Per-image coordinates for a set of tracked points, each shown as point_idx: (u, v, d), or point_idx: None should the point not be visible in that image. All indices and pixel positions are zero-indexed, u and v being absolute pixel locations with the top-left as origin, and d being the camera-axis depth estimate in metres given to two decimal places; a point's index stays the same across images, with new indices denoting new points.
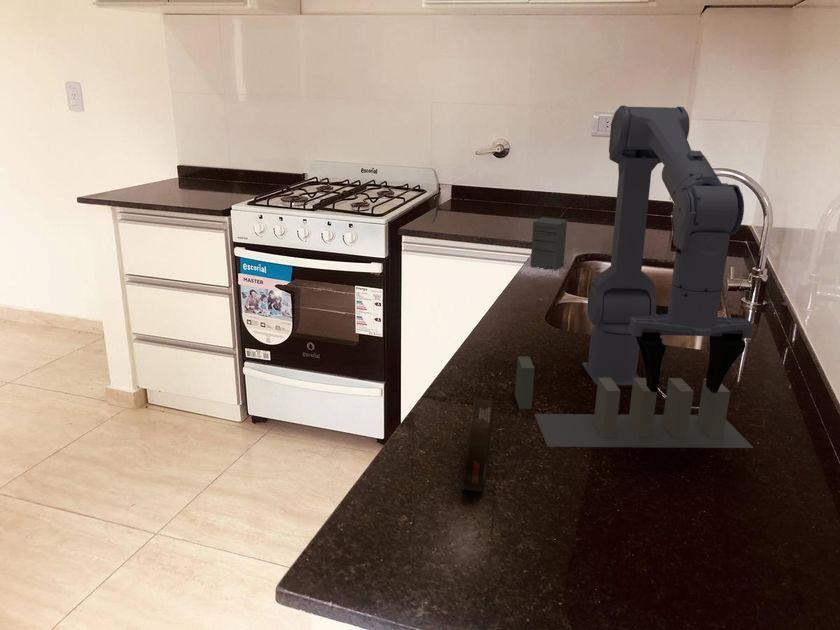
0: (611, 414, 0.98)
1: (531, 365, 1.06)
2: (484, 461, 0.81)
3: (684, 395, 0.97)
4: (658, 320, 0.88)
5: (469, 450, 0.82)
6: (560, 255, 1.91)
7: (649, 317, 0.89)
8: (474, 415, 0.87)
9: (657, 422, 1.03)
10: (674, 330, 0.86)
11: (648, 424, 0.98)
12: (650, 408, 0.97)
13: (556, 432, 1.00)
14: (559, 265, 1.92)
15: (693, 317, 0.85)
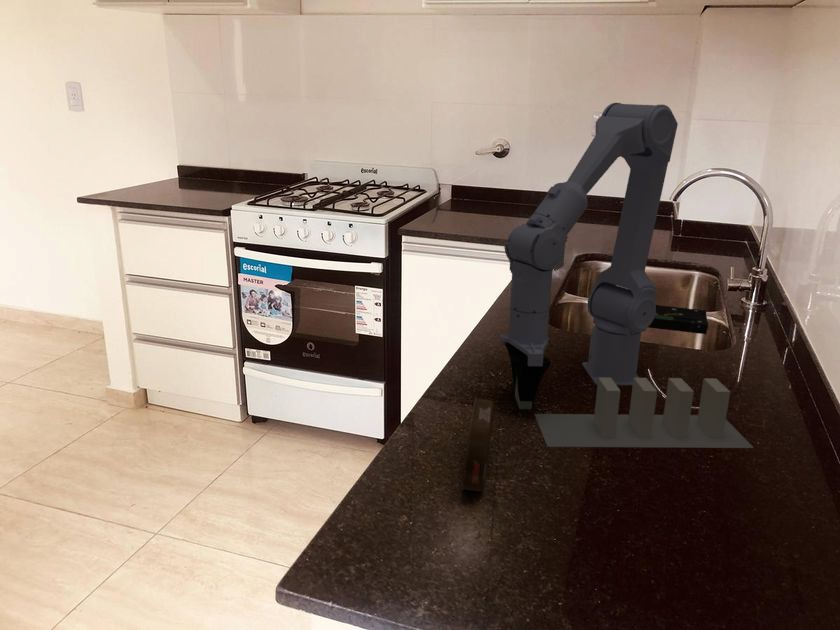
0: (611, 414, 0.98)
1: None
2: (484, 461, 0.81)
3: (684, 395, 0.97)
4: None
5: (469, 450, 0.82)
6: None
7: None
8: (474, 415, 0.87)
9: (657, 422, 1.03)
10: None
11: (648, 424, 0.98)
12: (650, 408, 0.97)
13: (556, 432, 1.00)
14: (559, 265, 1.92)
15: None
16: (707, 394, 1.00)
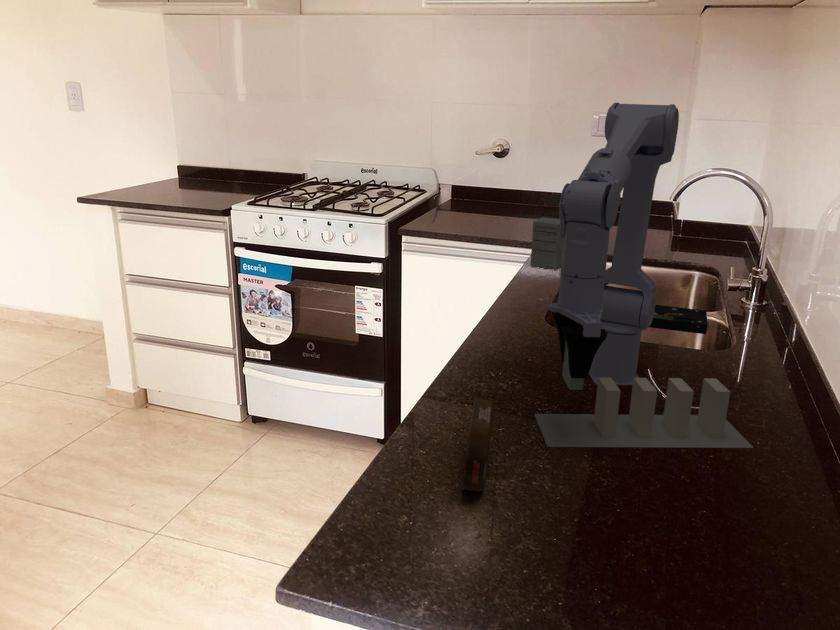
0: (611, 414, 0.98)
1: None
2: (484, 461, 0.81)
3: (684, 395, 0.97)
4: None
5: (469, 450, 0.82)
6: (560, 255, 1.91)
7: None
8: (474, 415, 0.87)
9: (657, 422, 1.03)
10: None
11: (648, 424, 0.98)
12: (650, 408, 0.97)
13: (556, 432, 1.00)
14: (559, 265, 1.92)
15: None
16: (707, 394, 1.00)
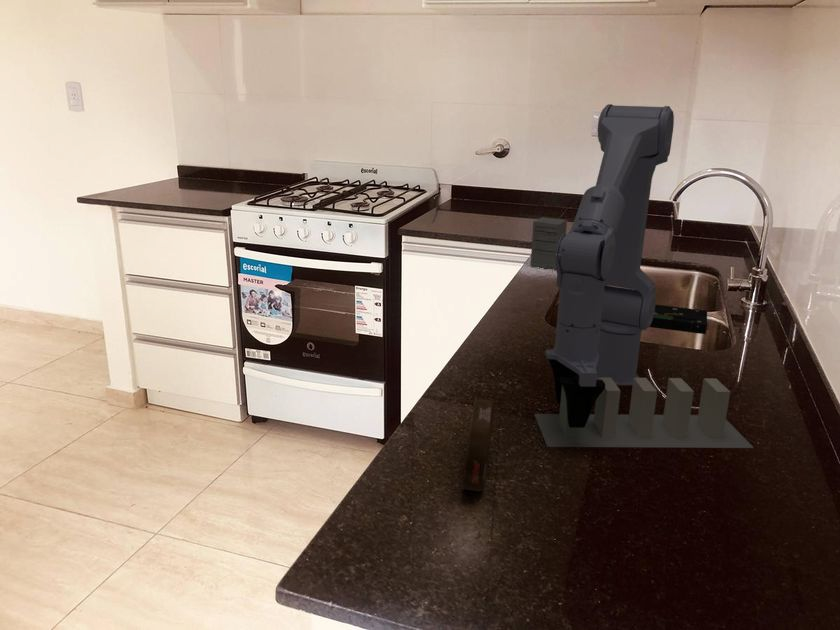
0: (611, 414, 0.98)
1: None
2: (484, 461, 0.81)
3: (684, 395, 0.97)
4: None
5: (469, 450, 0.82)
6: None
7: None
8: (474, 415, 0.87)
9: (657, 422, 1.03)
10: None
11: (648, 424, 0.98)
12: (650, 408, 0.97)
13: (556, 432, 1.00)
14: None
15: (555, 341, 0.98)
16: (707, 394, 1.00)
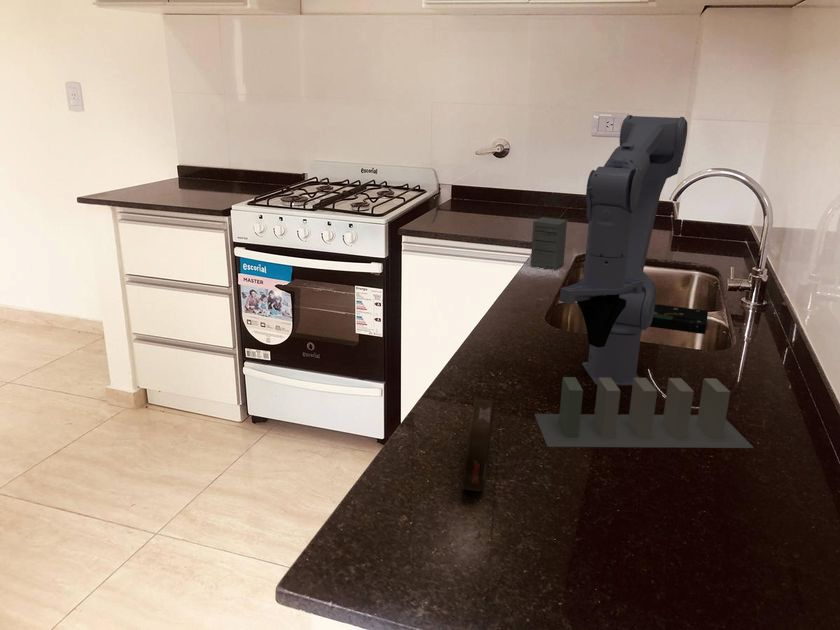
0: (611, 414, 0.98)
1: (579, 387, 0.97)
2: (484, 461, 0.81)
3: (684, 395, 0.97)
4: None
5: (469, 450, 0.82)
6: (560, 255, 1.91)
7: (632, 283, 1.04)
8: (474, 415, 0.87)
9: (657, 422, 1.03)
10: None
11: (648, 424, 0.98)
12: (650, 408, 0.97)
13: (556, 432, 1.00)
14: (559, 265, 1.92)
15: None
16: (707, 394, 1.00)
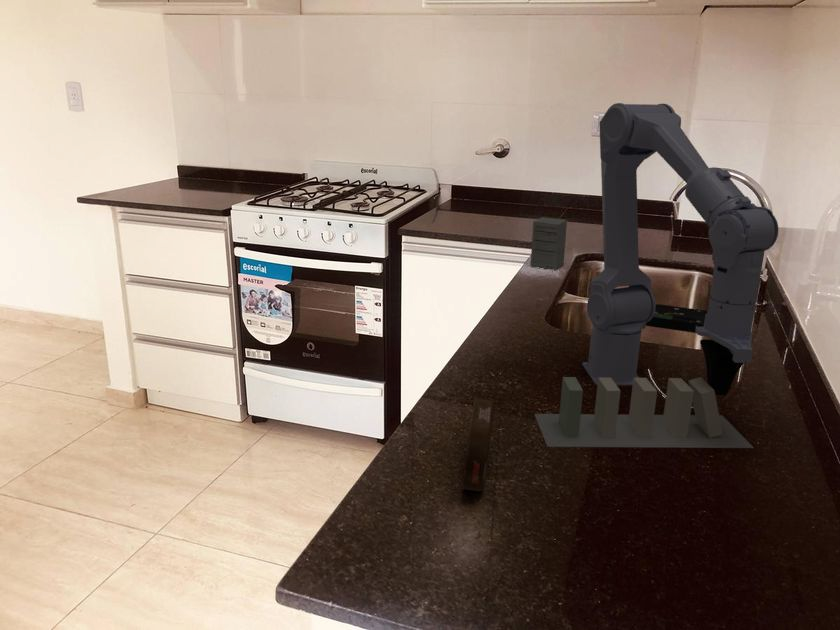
0: (611, 414, 0.98)
1: (579, 387, 0.97)
2: (484, 461, 0.81)
3: (684, 395, 0.97)
4: None
5: (469, 450, 0.82)
6: (560, 255, 1.91)
7: None
8: (474, 415, 0.87)
9: (657, 422, 1.03)
10: None
11: (648, 424, 0.98)
12: (650, 408, 0.97)
13: (556, 432, 1.00)
14: (559, 265, 1.92)
15: (706, 318, 0.98)
16: (695, 396, 1.00)
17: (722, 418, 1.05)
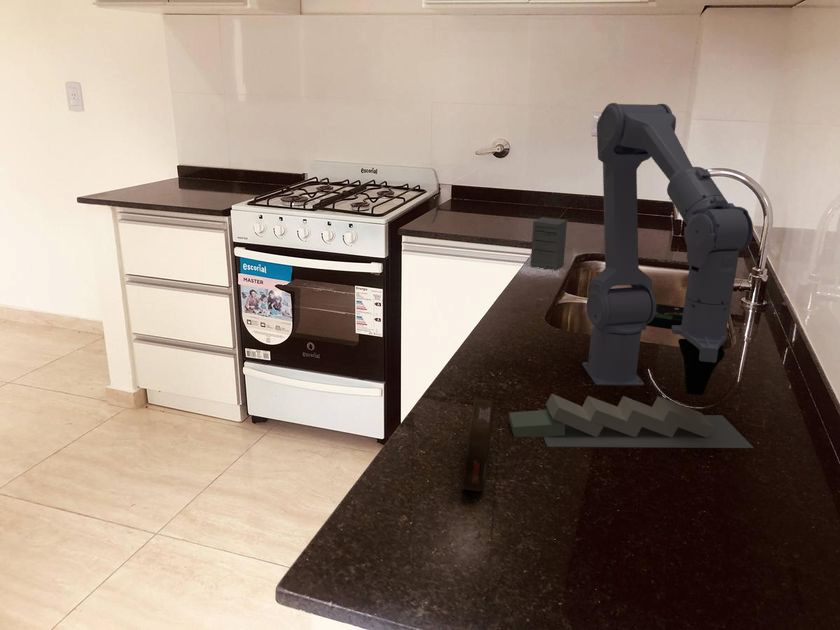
0: (578, 422, 0.98)
1: (512, 425, 0.99)
2: (484, 461, 0.81)
3: (633, 418, 0.98)
4: None
5: (468, 450, 0.82)
6: (560, 255, 1.91)
7: None
8: (474, 415, 0.87)
9: None
10: None
11: (626, 425, 0.98)
12: (611, 419, 0.98)
13: None
14: (559, 265, 1.92)
15: None
16: None
17: (722, 418, 1.05)
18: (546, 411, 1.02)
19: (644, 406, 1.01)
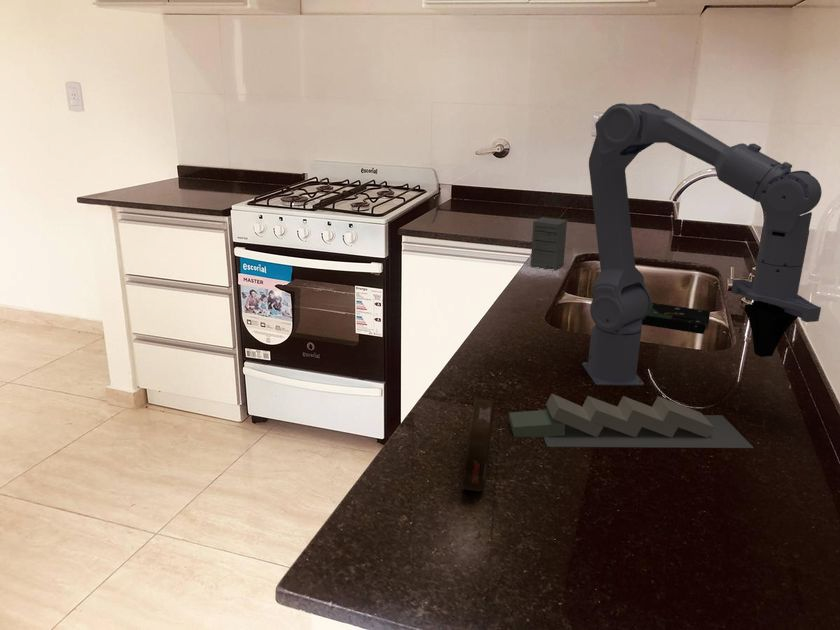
0: (578, 422, 0.98)
1: (512, 425, 0.99)
2: (484, 461, 0.81)
3: (633, 418, 0.98)
4: (753, 285, 1.03)
5: (469, 450, 0.82)
6: (560, 255, 1.91)
7: None
8: (474, 415, 0.87)
9: None
10: (746, 292, 1.02)
11: (626, 425, 0.98)
12: (611, 419, 0.98)
13: None
14: (559, 265, 1.92)
15: (755, 283, 0.99)
16: None
17: (722, 418, 1.05)
18: (546, 411, 1.02)
19: (644, 406, 1.01)
